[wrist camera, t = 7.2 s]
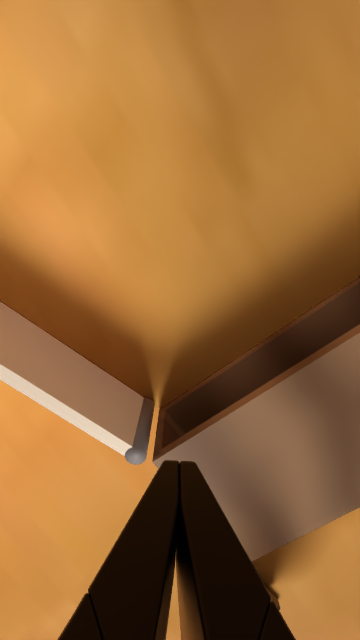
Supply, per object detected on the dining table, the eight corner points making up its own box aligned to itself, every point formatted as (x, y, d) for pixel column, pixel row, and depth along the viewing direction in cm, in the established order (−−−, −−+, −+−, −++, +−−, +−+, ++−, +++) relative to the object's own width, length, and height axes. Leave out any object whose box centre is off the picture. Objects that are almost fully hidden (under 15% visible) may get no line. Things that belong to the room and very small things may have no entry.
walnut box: (234, 494, 23) (248, 563, 18) (159, 410, 21) (152, 462, 16) (447, 375, 20) (532, 420, 15) (385, 260, 18) (461, 269, 13)
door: (157, 403, 21) (150, 454, 16) (141, 422, 21) (130, 476, 16) (-61, 257, 18) (-151, 265, 13) (-74, 282, 18) (-166, 298, 13)
